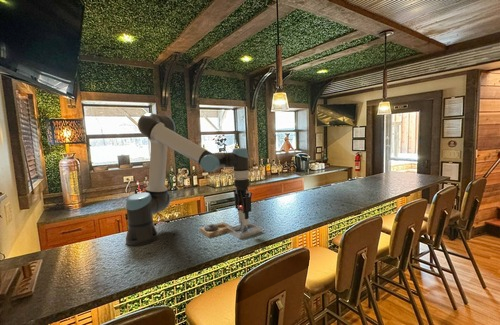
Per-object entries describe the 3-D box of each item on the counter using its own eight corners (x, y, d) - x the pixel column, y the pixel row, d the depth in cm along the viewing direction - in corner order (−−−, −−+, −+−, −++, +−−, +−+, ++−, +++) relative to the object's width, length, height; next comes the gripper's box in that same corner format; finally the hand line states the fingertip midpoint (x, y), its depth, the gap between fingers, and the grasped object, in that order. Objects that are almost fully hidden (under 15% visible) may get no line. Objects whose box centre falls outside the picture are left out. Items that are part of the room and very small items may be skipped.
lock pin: (243, 233, 125) (241, 207, 124) (237, 230, 129) (236, 205, 128) (251, 231, 128) (249, 205, 127) (245, 228, 132) (244, 203, 131)
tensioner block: (208, 239, 124) (208, 229, 124) (200, 233, 132) (199, 224, 132) (232, 232, 132) (232, 222, 132) (223, 227, 140) (222, 218, 140)
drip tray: (239, 240, 120) (239, 234, 120) (227, 234, 129) (227, 228, 129) (261, 233, 128) (260, 227, 128) (248, 228, 137) (248, 222, 137)
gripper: (257, 179, 122) (259, 226, 124) (238, 176, 135) (240, 218, 137) (244, 181, 117) (247, 229, 119) (226, 178, 131) (229, 221, 133)
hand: (243, 223), depth 128 cm, fingers closed on lock pin, 3 cm apart
